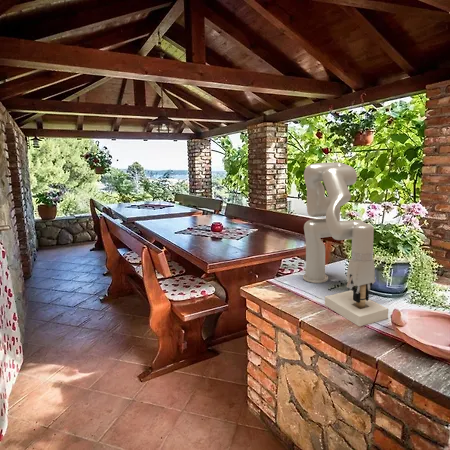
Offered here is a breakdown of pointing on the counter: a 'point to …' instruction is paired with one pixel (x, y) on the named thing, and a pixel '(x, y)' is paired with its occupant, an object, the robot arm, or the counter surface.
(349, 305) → the peg board
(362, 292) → the beech peg
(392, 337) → the counter surface
